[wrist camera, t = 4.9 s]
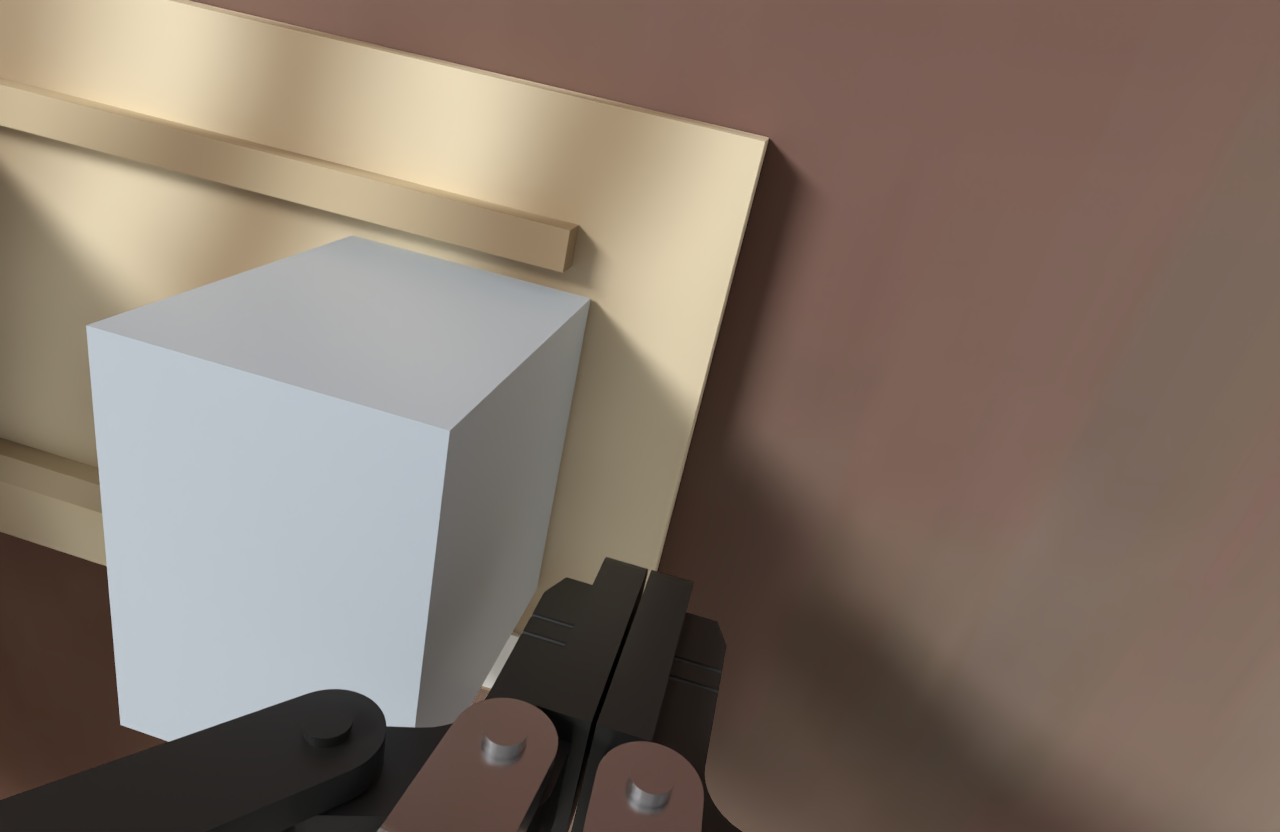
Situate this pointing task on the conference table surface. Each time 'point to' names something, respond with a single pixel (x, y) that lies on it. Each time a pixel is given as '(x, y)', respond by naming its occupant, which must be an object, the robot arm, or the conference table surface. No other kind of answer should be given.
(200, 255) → the wooden sliding jig
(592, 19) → the conference table surface
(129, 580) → the block
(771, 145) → the conference table surface
